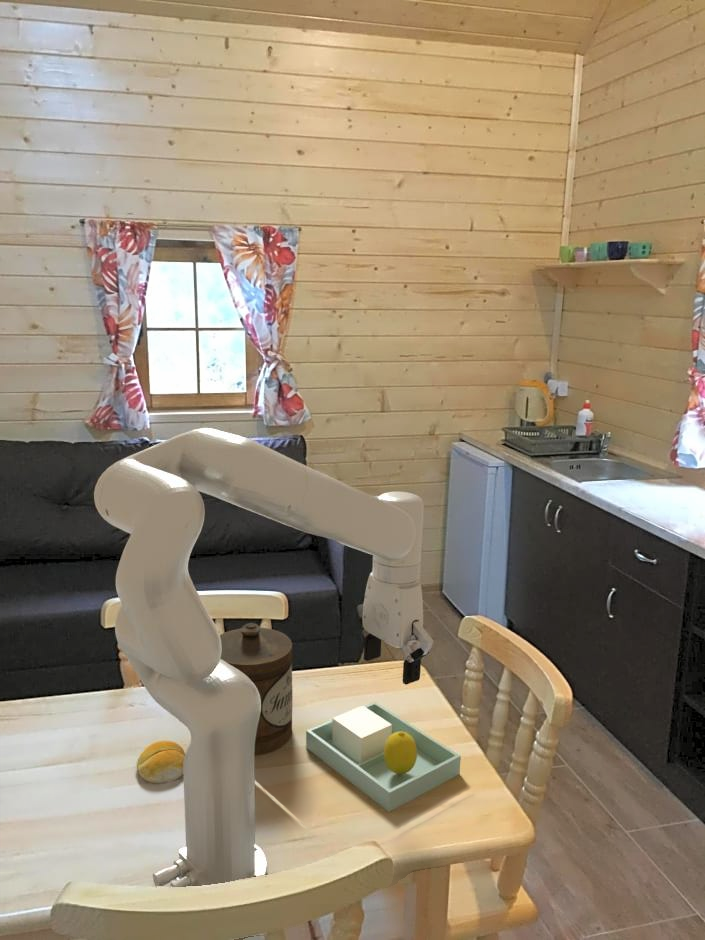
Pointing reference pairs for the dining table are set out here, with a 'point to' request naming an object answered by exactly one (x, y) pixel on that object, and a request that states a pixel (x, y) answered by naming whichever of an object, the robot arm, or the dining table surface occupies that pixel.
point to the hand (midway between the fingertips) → (391, 669)
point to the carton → (360, 733)
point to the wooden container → (265, 679)
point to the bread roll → (161, 762)
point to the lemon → (400, 752)
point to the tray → (375, 775)
